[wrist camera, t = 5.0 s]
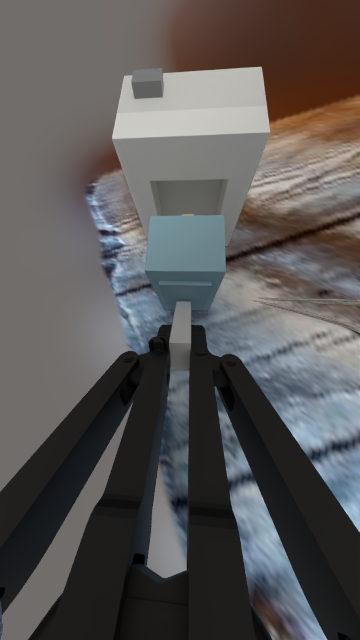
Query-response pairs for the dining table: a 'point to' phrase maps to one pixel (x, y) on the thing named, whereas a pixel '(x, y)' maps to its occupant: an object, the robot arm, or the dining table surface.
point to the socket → (191, 141)
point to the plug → (186, 258)
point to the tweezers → (323, 301)
